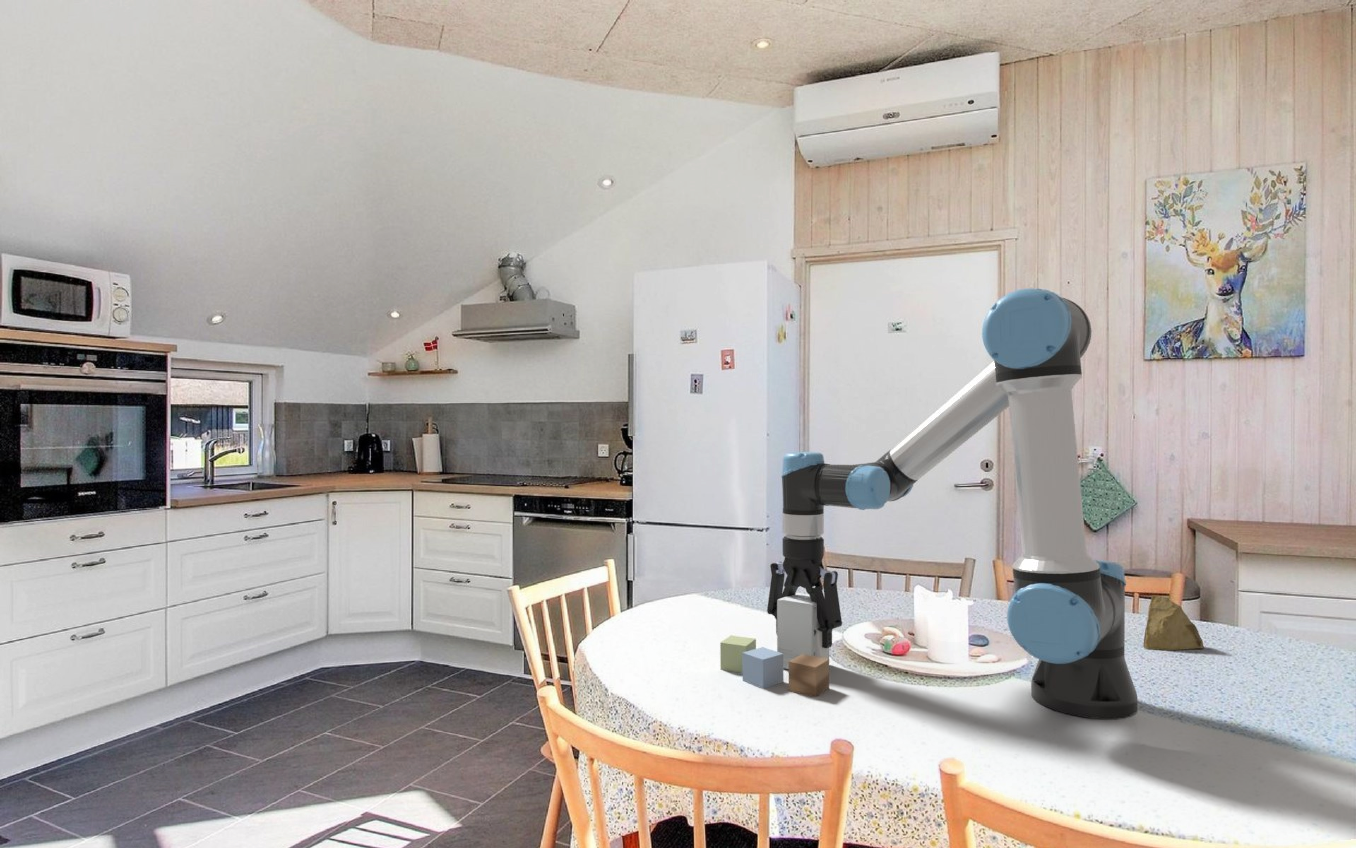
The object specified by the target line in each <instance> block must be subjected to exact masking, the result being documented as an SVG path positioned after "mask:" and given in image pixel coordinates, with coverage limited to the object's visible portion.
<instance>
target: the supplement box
mask: <svg viewBox="0 0 1356 848" xmlns="http://www.w3.org/2000/svg"><path fill="white" fill-rule="evenodd" d="M824 598H825V597H824ZM819 628H820V625H819V622H818V619H817V604H816V603H815V602H812V601H811V598H810V595H809V594H808V593H803V592H796V594H795V595H792V596H788V597H783V598H781V599H778V600H777V634H776V636H777V637H776V639H777V640H776V645H777V647H776V652H779V653H783V670H784V669H786V670H789V661H791V660H792V659H794V658H796V657H798V656H800V655H802V654H805V655H810V656H815V657H817V652H816V630H817V629H819Z"/></svg>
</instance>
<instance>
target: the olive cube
mask: <svg viewBox="0 0 1356 848" xmlns="http://www.w3.org/2000/svg"><path fill="white" fill-rule="evenodd" d="M719 645H720V646H719V647H720V650H719V651H720V652H719V655H720V670H723V671H728V672H729V671H730V672H735V673H741V674H743V666H742V653H743V652H747V651H750V650H754V649H757V638H752V637H745V636H740V635H739V636H738V635H729V636H728V637H727V638H725V639H724V640H722V641H721V642H720V644H719Z"/></svg>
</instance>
